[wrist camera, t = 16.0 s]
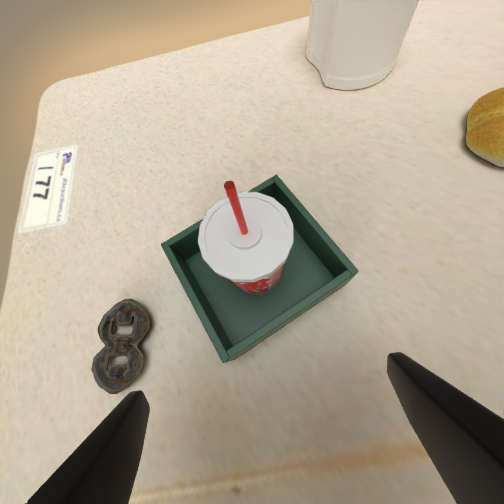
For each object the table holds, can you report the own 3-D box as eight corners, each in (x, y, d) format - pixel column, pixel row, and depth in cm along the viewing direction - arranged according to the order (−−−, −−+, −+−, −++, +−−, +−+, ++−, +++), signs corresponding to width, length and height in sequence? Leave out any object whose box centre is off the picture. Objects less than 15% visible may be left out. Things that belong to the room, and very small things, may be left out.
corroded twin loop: (93, 392, 22) (84, 394, 21) (109, 301, 25) (102, 299, 24) (147, 391, 22) (140, 393, 21) (157, 299, 25) (152, 297, 24)
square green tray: (234, 360, 22) (222, 363, 18) (179, 260, 26) (160, 244, 22) (345, 284, 23) (359, 271, 19) (277, 200, 27) (276, 174, 23)
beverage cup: (247, 317, 23) (199, 278, 10) (215, 263, 25) (142, 173, 12) (303, 281, 23) (328, 199, 10) (267, 231, 26) (252, 112, 12)
